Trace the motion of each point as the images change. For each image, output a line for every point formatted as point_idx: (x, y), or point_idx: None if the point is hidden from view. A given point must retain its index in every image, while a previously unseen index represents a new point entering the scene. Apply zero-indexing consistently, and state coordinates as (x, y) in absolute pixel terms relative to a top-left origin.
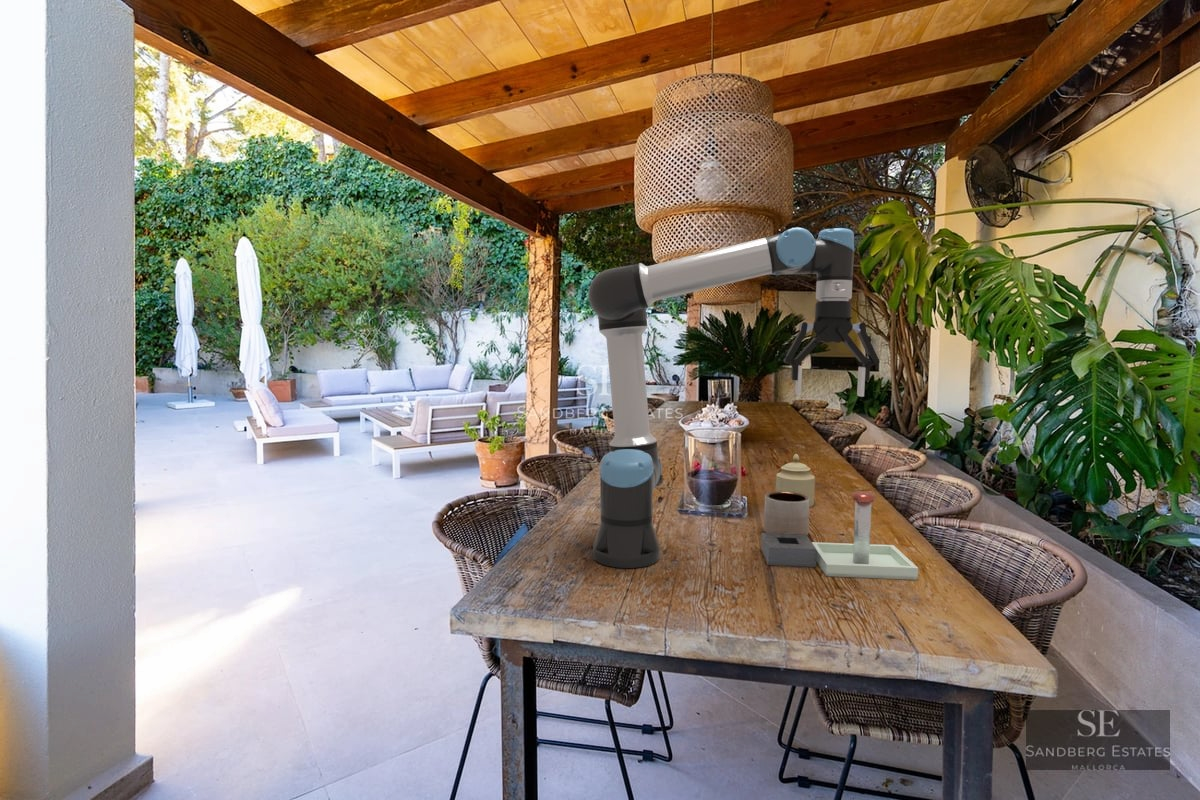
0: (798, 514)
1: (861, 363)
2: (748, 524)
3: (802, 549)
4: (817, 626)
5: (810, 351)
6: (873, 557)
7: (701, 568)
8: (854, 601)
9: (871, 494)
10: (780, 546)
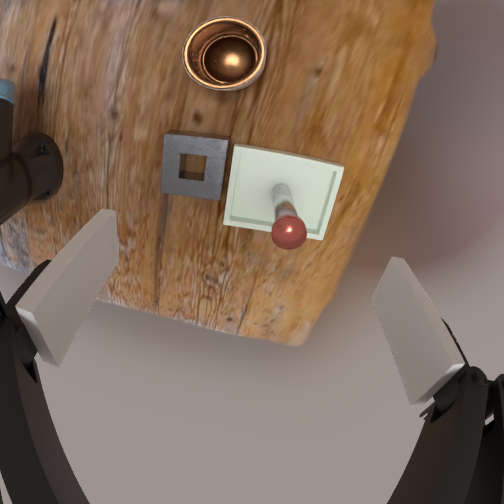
0: (233, 89)
1: (457, 392)
2: (185, 21)
3: (202, 197)
4: (183, 304)
5: (69, 471)
6: (307, 176)
7: (99, 194)
8: (228, 272)
9: (301, 237)
10: (176, 190)
